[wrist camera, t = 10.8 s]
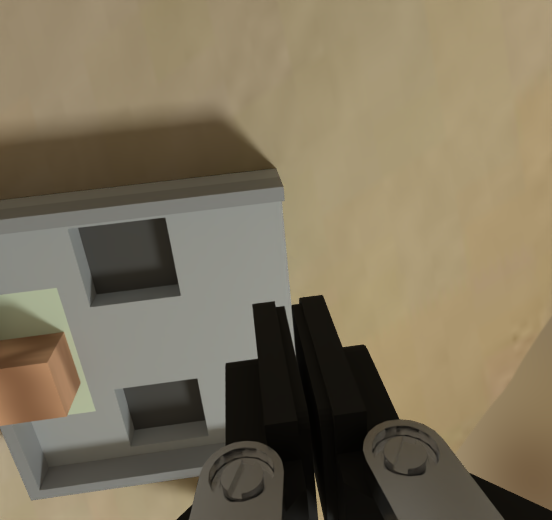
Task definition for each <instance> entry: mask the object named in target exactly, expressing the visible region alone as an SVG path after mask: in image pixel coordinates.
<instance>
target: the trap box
mask: <svg viewBox="0 0 552 520" xmlns="http://www.w3.org/2000/svg"><path fill="white" fill-rule="evenodd" d="M282 201H285V200H284V189H283V185H282V182H281V179H280V177H279V174H278V172H277V169H276V168H275V169H266V170H257V171H249V172H240V173H231V174H223V175H214V176H205V177H197V178H188V179H180V180H171V181H162V182H154V183H145V184H136V185H128V186H119V187H110V188H102V189H93V190H84V191H76V192H67V193H58V194H50V195H41V196H32V197H24V198H15V199H6V200H0V340H7V339H15V338H22V337H30V336H37V335H45V334H52V333H60V332H64V334H65V337H66V340H67V343H68V346H69V349H70V352H71V355H72V358H73V361H74V364H75V367H76V370H77V373H78V376H79V379H80V382H81V383H80V386H79V388H78V391H77V393H76V396H75V398H74V400H73V403H72V405H71V408H70V410H69V412H68V415H67V417H60V418H53V419H46V420H39V421H32V422H25V423H18V424H11V425H4V426H0V429H1V432H2V434H3V436H4V439H5V441H6V443H7V446H8V448H9V450H10V453H11V455H12V457H13V459H14V462H15V464H16V466H17V469H18V471H19V473H20V476H21V478H22V480H23V483H24V485H25V487H26V490H27V492H28V494H29V497H30V499H31V500H38V499H45V498H51V497H58V496H65V495H72V494H79V493H86V492H93V491H100V490H107V489H114V488H121V487H128V486H135V485H141V484H148V483H155V482H162V481H169V480H176V479H183V478H190V477H197V476H199V475H200V472H201V470H202V468H203V465H204V463H205V462H206V461H207V460H208V459H209V457H210V456H211V455H212V454H213V453H215V452H216V451H218V450H219V449H220V448H222V447H224V446H225V364H226V363H229V362H236V361H244V360H251V359H258V356H257V347H256V337H255V327H254V318H253V308H252V304H256V303H264V302H271V301H275V305H276V307H280V306H285V310H286V315H287V319H288V324H289V328H290V333H291V337H292V342H293V346H294V351H295V342H294V331H293V320H292V309H291V297H290V286H289V275H288V264H287V253H286V242H285V231H284V220H283V209H282ZM295 355H296V353H295Z"/></svg>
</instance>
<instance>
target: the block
mask: <svg viewBox="0 0 552 520" xmlns="http://www.w3.org/2000/svg"><path fill="white" fill-rule="evenodd" d="M80 383H81V382H80V379H79V376H78V373H77V370H76V367H75V364H74V361H73V358H72V355H71V352H70V349H69V346H68V343H67V340H66V337H65V334H64V332H60V333H52V334H45V335H37V336H30V337H22V338H15V339H7V340H0V426H4V425H11V424H18V423H25V422H32V421H39V420H46V419H53V418H60V417H67V415H68V412H69V410H70V408H71V405H72V403H73V400H74V398H75V396H76V393H77V391H78V388H79V386H80Z"/></svg>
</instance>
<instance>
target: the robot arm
mask: <svg viewBox="0 0 552 520" xmlns="http://www.w3.org/2000/svg"><path fill="white" fill-rule="evenodd" d="M252 308H253V318H254V327H255V337H256V347H257V356H258V359H251V360H244V361H236V362H229V363H226V364H225V446H224V447H222V448H220V449H219V450H218V451H216V452H215V453H213V454H212V455H211V456H210V457H209V459H208V460H207V461H206V462H205V463H204V465H203V468H202V470H201V472H200V475H199V480H198V484H197V488H196V492H195V497H194V501H193V504H192V505H191V506H190V507H189V508H188V509H187V510H186V511H185V512H184V513H183V514H182V515H181V516H180V517H179V518H178V519H177V520H318V513H317V501H316V489H315V478H316V482H317V487H318V492H319V497H320V502H321V507H322V512H323V516H324V520H552V511H550V510H548V509H546V508H544V507H542V506H540V505H538V504H535V503H533V502H531V501H529V500H527V499H524V498H522V497H520V496H518V495H516V494H514V493H512V492H509V491H507V490H505V489H503V488H501V487H499V486H497V485H494V484H492V483H490V482H488V481H486V480H484V479H481V478H479V477H477V476H475V475H473V474H471V473H469V472H468V471H467V470H466V469H465V467H464V466H463V465H462V463H461V462H460V461H459V459H458V458H457V457H456V455H455V454H454V453H453V451H452V450H451V449H450V447H449V446H448V445H447V444H446V442H445V441H444V440H443V438H442V437H441V436H439V435H438V434H437V433H436V432H435V431H434V430H433V429H431V428H429V427H427V426H426V425H424V424H421V423H418V422H415V421H411V420H400V419H399V417H398V415H397V413H396V411H395V409H394V406H393V404H392V402H391V400H390V398H389V396H388V393H387V391H386V389H385V387H384V385H383V382H382V380H381V378H380V376H379V374H378V371H377V369H376V367H375V365H374V363H373V360H372V358H371V356H370V354H369V352H368V350H367V348H366V346H365V345H356V346H349V347H342V345H341V342H340V339H339V337H338V334H337V331H336V329H335V326H334V324H333V321H332V318H331V316H330V313H329V310H328V308H327V305H326V302H325V300H324V297H323V295H318V296H310V297H303V298H299V304H295V305H292V306H291V309H292V320H293V331H294V342H295V351H294V346H293V342H292V337H291V333H290V328H289V324H288V319H287V315H286V310H285V306H280V307H276V305H275V301H271V302H264V303H256V304H252ZM295 353H296V355H295ZM314 473H315V477H314Z"/></svg>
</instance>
